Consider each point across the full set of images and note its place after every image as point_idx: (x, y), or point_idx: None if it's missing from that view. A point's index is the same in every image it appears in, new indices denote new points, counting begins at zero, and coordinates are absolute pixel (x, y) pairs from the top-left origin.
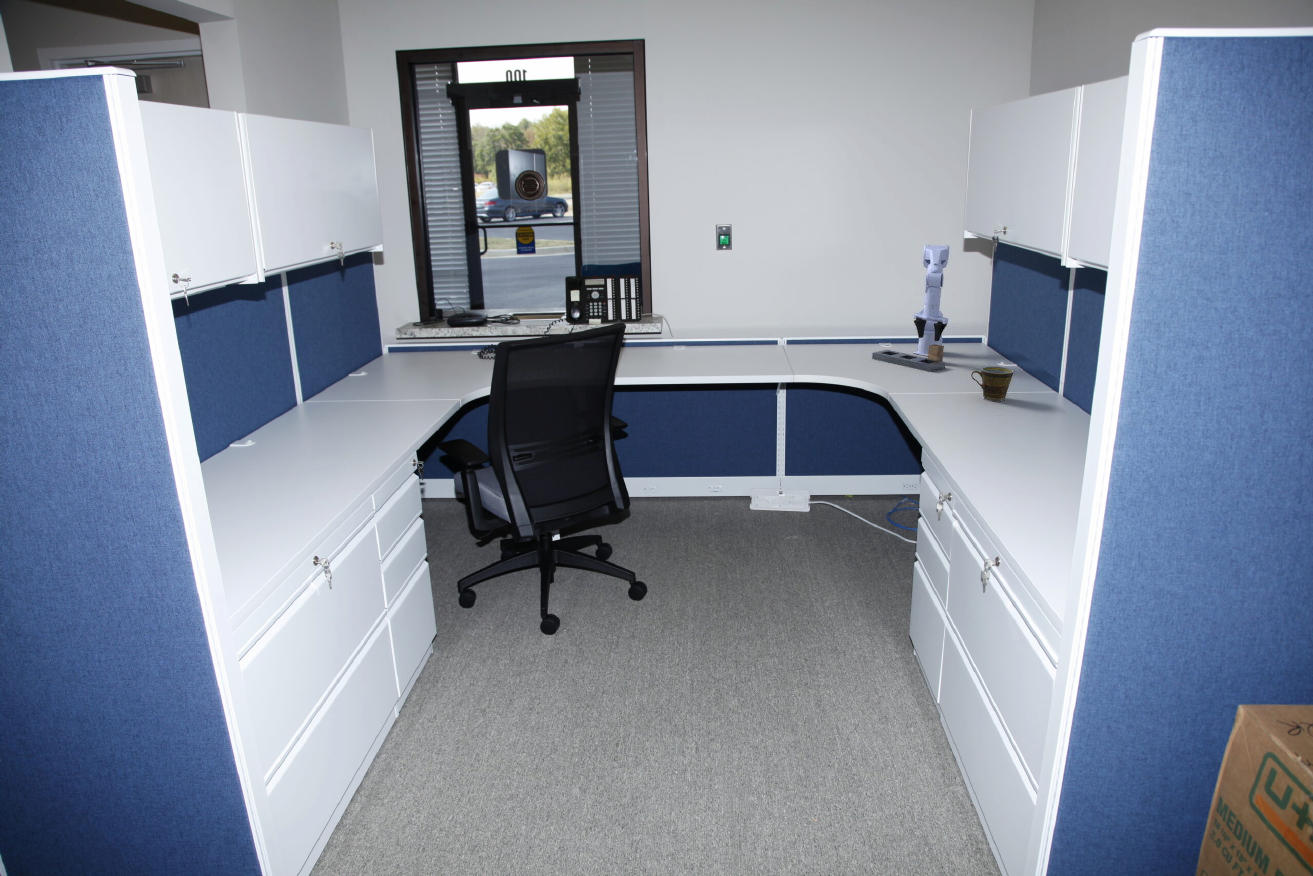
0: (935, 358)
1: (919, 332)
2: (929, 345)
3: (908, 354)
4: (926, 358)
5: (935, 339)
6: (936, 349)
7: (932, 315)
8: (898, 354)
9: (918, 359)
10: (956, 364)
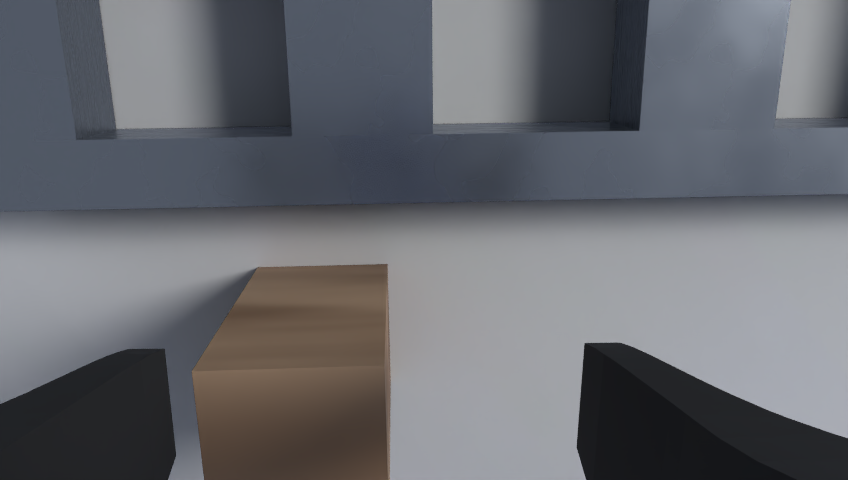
0: (256, 292)
1: (642, 392)
2: (376, 368)
3: (646, 179)
4: (317, 178)
5: (113, 356)
6: (224, 351)
7: None
8: (751, 60)
9: (342, 23)
10: None
